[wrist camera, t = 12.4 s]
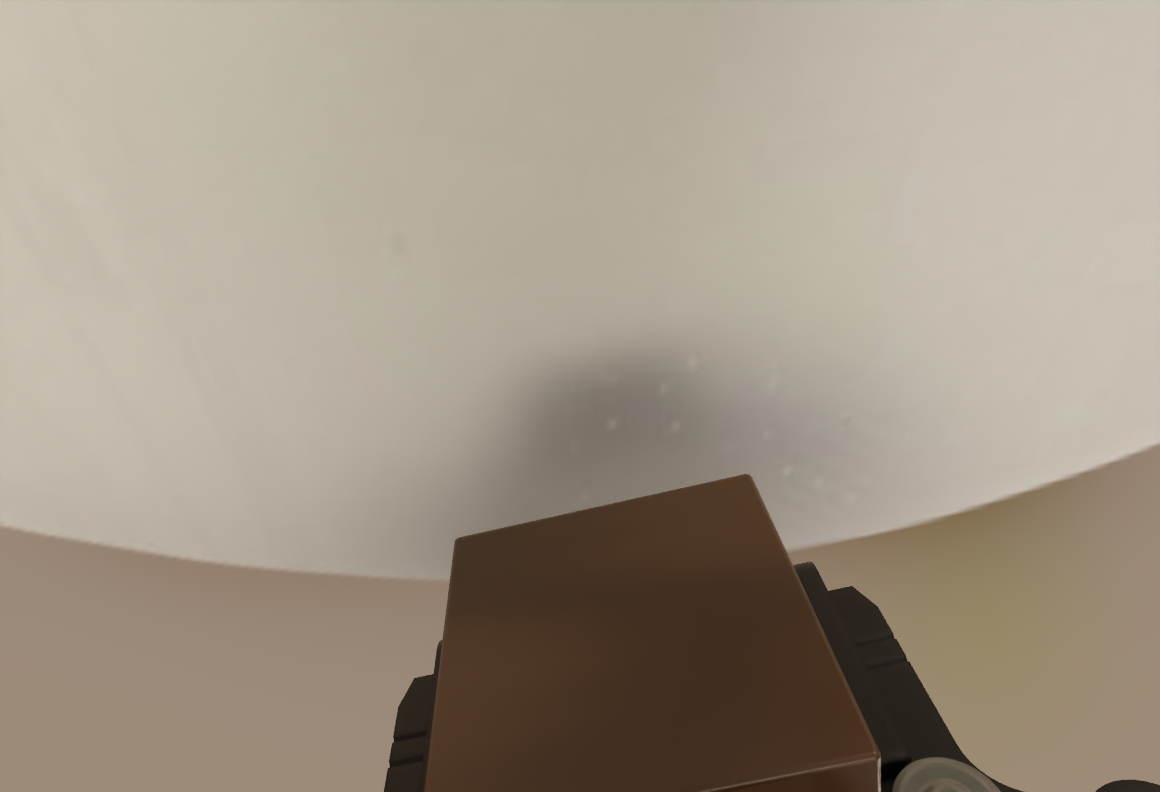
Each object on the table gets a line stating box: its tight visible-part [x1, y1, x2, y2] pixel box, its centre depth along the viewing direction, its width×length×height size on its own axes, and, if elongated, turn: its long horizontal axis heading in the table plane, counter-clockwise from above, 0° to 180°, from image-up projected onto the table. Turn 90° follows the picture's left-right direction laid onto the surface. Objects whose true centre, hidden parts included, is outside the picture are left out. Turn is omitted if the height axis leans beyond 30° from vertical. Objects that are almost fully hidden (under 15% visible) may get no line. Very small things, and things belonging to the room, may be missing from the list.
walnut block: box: [424, 474, 881, 792], centre depth 11 cm, size 5×5×5 cm
